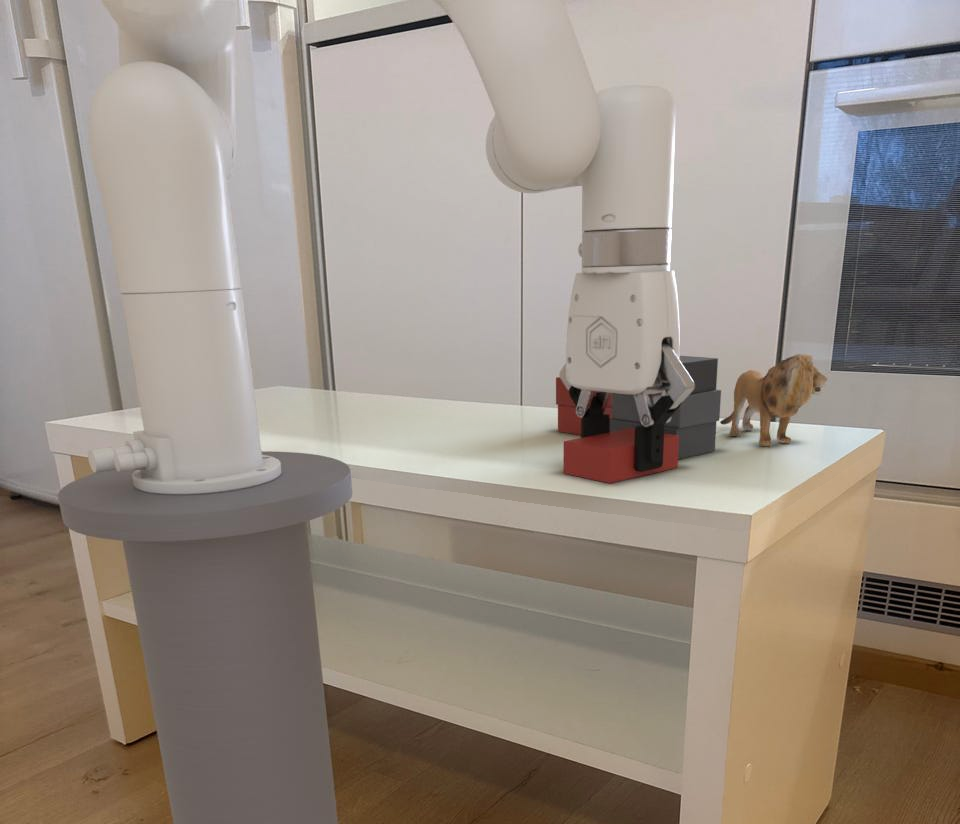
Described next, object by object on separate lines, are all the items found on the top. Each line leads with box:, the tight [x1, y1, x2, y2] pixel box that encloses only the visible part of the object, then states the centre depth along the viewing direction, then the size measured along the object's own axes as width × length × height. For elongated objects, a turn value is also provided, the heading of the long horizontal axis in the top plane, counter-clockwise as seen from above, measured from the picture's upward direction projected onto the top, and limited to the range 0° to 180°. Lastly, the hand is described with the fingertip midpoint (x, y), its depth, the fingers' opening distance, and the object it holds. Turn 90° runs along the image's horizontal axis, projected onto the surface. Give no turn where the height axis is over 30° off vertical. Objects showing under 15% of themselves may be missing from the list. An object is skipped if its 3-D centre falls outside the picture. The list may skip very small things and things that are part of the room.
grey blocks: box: [610, 355, 722, 460], centre depth 95 cm, size 6×9×9 cm
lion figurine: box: [719, 353, 828, 447], centre depth 98 cm, size 15×5×9 cm, turn 21°
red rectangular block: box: [563, 428, 679, 484], centre depth 87 cm, size 6×9×3 cm, turn 129°
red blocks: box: [555, 376, 612, 436], centre depth 108 cm, size 6×9×6 cm
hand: (621, 462), depth 87 cm, fingers closed on red rectangular block, 6 cm apart
